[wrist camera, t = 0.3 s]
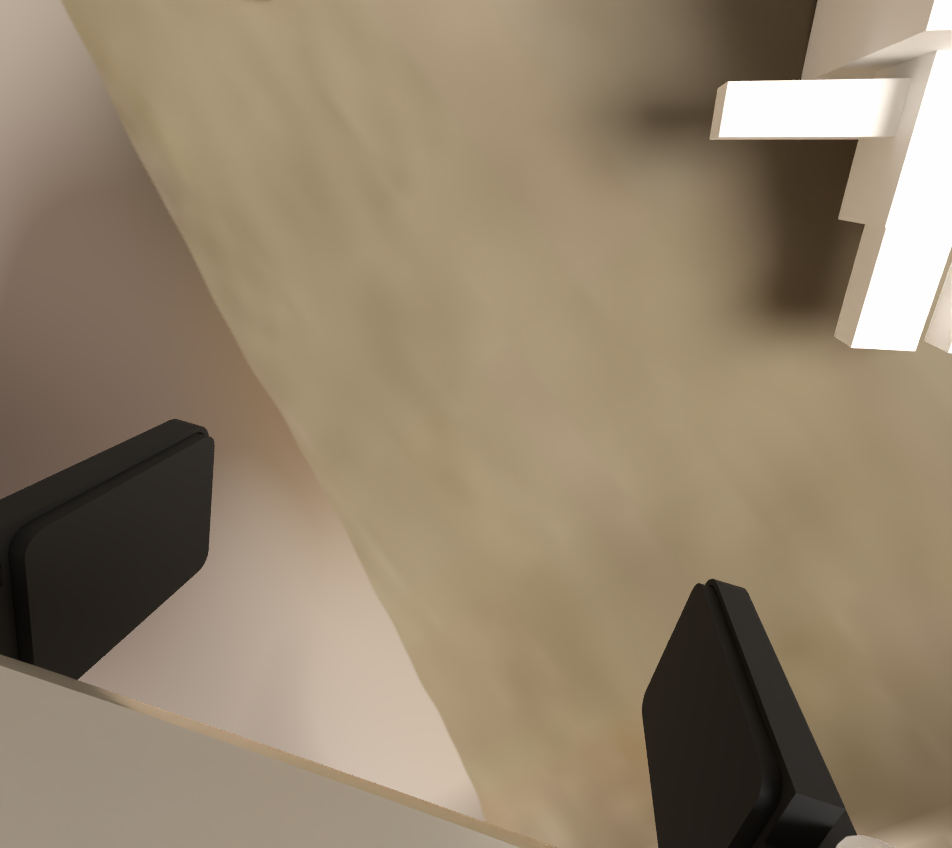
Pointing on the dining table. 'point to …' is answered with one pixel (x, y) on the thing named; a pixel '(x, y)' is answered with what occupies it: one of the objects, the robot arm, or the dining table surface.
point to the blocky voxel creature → (874, 154)
